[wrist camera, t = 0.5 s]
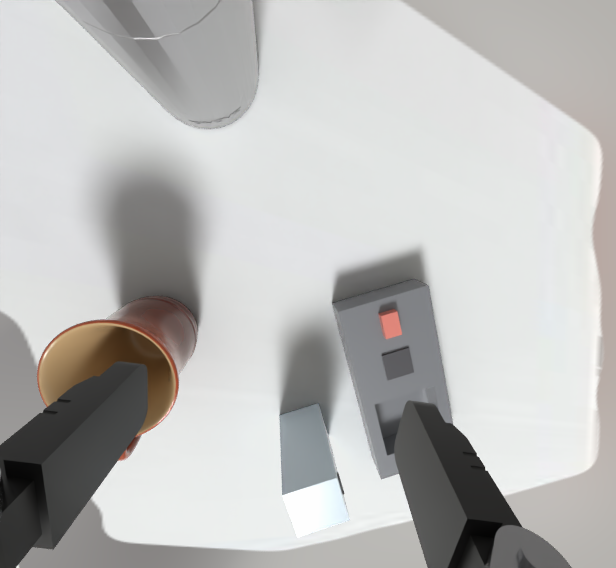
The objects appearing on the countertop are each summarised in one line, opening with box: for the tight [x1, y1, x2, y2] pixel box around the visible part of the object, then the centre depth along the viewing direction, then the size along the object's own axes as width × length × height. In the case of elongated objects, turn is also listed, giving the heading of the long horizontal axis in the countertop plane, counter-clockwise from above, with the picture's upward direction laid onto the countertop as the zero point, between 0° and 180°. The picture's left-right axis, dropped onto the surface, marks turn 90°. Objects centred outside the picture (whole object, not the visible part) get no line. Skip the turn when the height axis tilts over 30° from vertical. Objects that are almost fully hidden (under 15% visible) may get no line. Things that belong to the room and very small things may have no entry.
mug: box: [37, 296, 198, 461], centre depth 26 cm, size 12×9×10 cm
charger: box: [280, 403, 350, 537], centre depth 30 cm, size 4×5×10 cm
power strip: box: [332, 279, 453, 479], centre depth 32 cm, size 20×9×4 cm, turn 15°
